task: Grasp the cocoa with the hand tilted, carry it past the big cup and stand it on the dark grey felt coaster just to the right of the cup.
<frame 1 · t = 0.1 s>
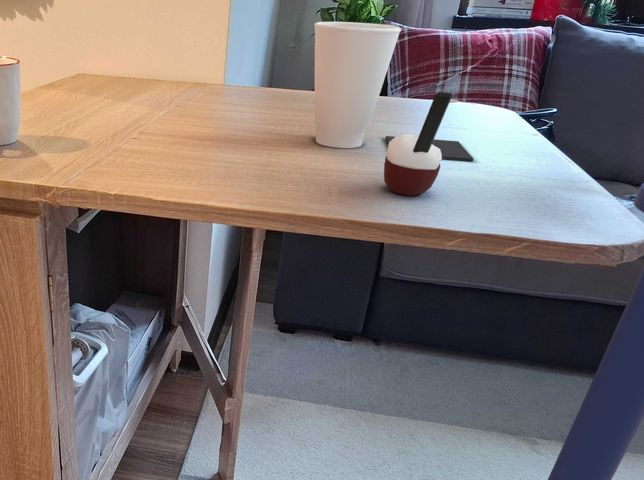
cocoa: (404, 194, 75), on the table
cup: (338, 143, 96), on the table
coaster: (426, 149, 94), on the table
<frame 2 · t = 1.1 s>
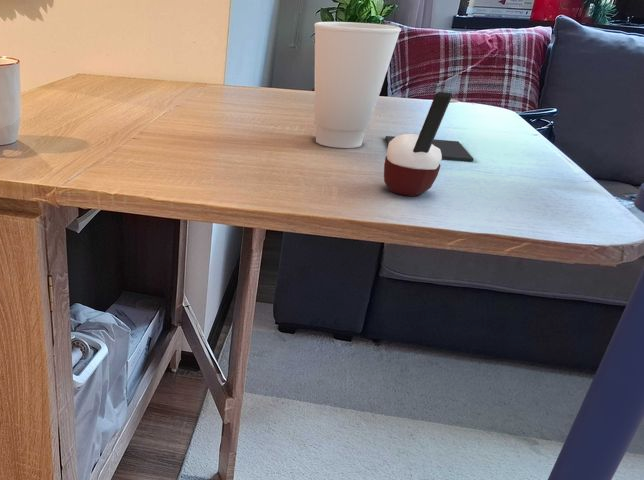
nothing on the table moved.
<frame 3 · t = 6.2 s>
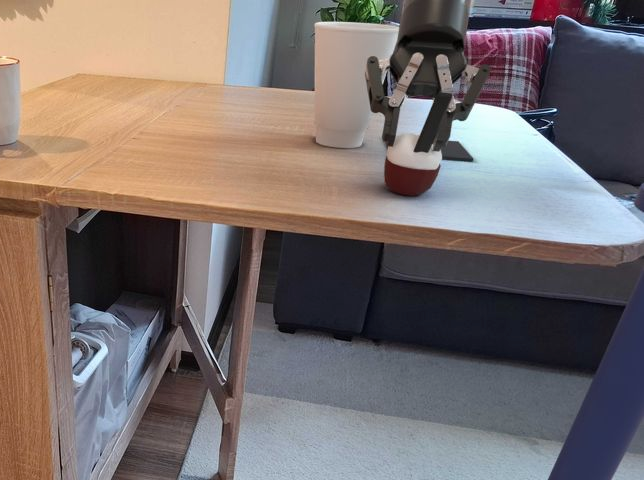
hand: (414, 144, 70), 6 cm above the table, tool tilted 45°, fingers closed on cocoa, 4 cm apart
cocoa: (404, 194, 75), on the table, touching gripper
everything else where it was.
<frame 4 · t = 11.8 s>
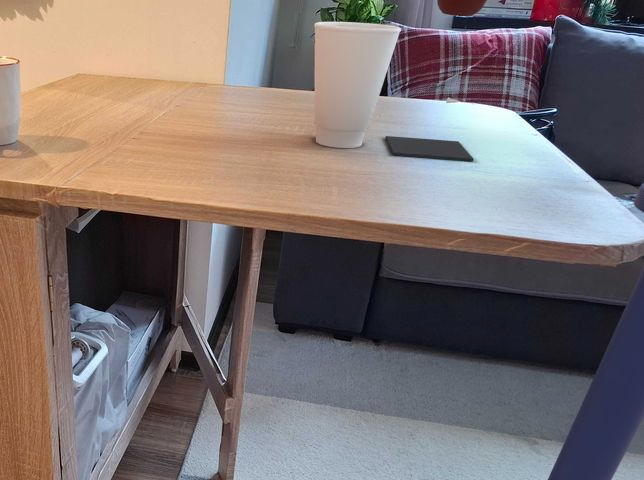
cocoa: (457, 17, 80), point 18 cm above the table, touching gripper
everything else where it was.
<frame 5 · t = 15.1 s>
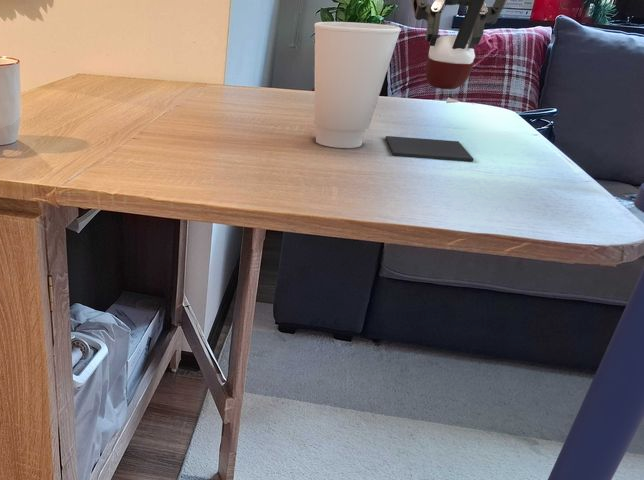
hand: (453, 42, 85), 15 cm above the table, tool tilted 45°, fingers closed on cocoa, 4 cm apart
cocoa: (443, 89, 90), point 8 cm above the table, touching gripper
everything else where it was.
when the fingers open (6 cm above the table, at t = 17.7 s): cocoa stays where it is, resting on coaster.
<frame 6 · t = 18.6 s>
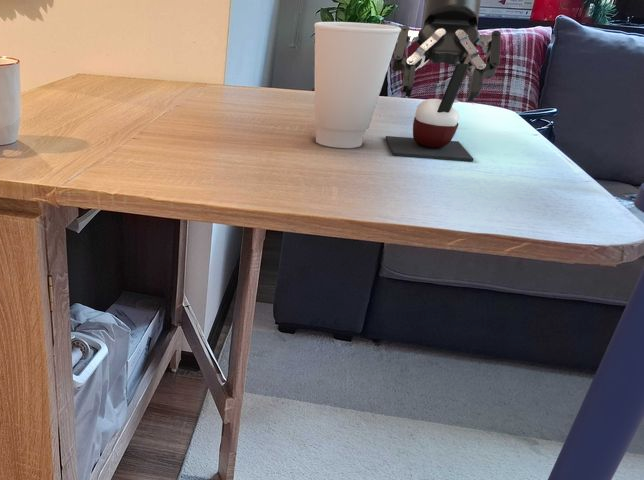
hand: (439, 95, 90), 8 cm above the table, tool tilted 45°, fingers open, 8 cm apart
cocoa: (429, 147, 94), resting on coaster
everything else where it was.
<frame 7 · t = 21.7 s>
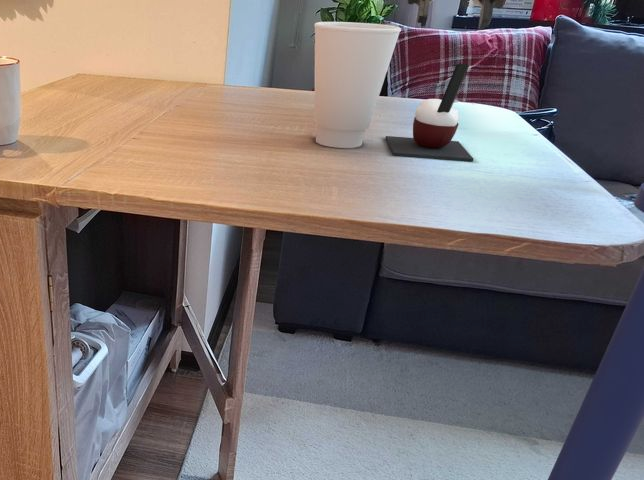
hand: (453, 24, 96), 16 cm above the table, tool tilted 45°, fingers open, 8 cm apart
nothing on the table moved.
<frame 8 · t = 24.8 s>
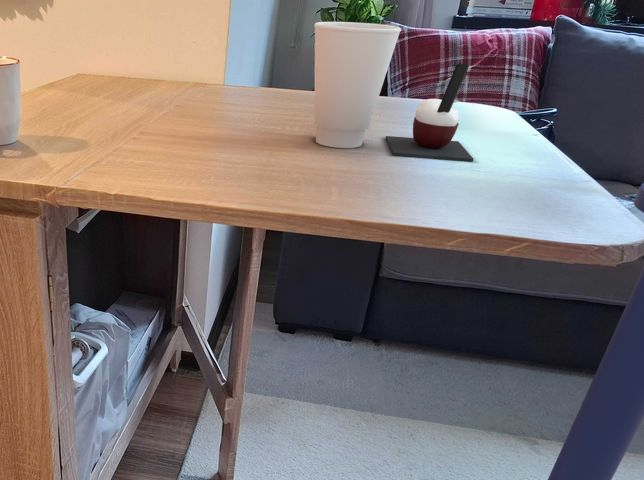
nothing on the table moved.
at the end: cocoa inside the target area on the table beside the cup (0.4 cm from its centre), resting on coaster; cocoa tilted 0°; the gripper is holding nothing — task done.
